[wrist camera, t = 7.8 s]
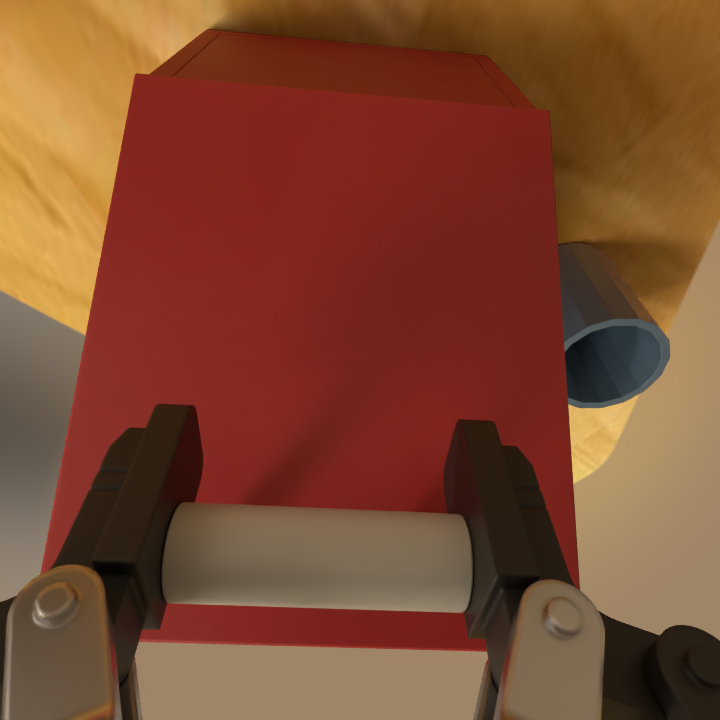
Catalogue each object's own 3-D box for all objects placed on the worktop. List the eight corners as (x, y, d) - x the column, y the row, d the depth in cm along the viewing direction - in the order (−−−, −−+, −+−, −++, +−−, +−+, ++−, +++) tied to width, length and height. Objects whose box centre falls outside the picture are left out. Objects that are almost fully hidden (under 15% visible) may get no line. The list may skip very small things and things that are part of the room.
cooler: (433, 316, 36) (453, 422, 28) (230, 302, 35) (196, 408, 28) (488, 55, 26) (542, 113, 18) (206, 28, 25) (142, 78, 18)
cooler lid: (571, 647, 14) (708, 724, 9) (43, 631, 13) (-124, 708, 8) (540, 125, 18) (622, -16, 13) (142, 90, 18) (72, -74, 13)
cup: (608, 227, 32) (668, 302, 26) (617, 308, 36) (671, 390, 30) (504, 263, 33) (537, 341, 27) (523, 336, 37) (556, 420, 31)
